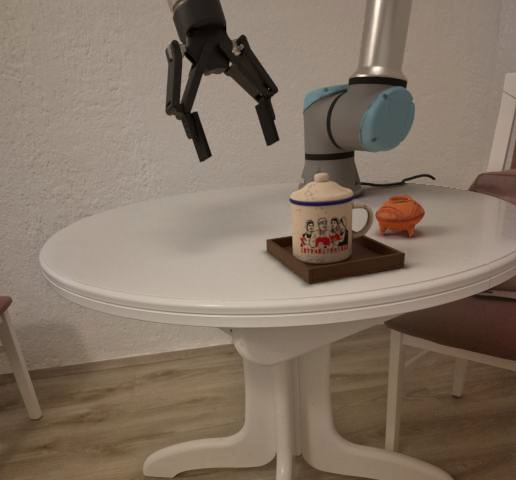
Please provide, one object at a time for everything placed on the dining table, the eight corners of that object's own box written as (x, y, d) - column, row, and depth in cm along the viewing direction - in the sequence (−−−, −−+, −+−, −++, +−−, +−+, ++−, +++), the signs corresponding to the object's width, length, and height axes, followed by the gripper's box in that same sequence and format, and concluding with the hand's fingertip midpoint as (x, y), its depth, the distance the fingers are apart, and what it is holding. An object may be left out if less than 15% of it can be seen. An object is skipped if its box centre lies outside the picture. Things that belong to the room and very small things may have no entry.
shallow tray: (346, 239, 81) (346, 227, 80) (404, 267, 66) (405, 253, 65) (266, 251, 77) (266, 239, 76) (308, 284, 63) (308, 269, 62)
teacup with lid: (295, 267, 67) (292, 181, 62) (288, 250, 76) (285, 172, 70) (380, 260, 68) (384, 174, 62) (363, 244, 76) (366, 165, 70)
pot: (436, 231, 80) (434, 192, 76) (400, 250, 78) (396, 211, 74) (402, 221, 86) (398, 185, 83) (368, 239, 84) (363, 202, 81)
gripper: (246, 16, 81) (285, 144, 86) (110, 24, 68) (164, 173, 73) (272, -10, 75) (312, 129, 80) (127, -7, 62) (185, 158, 67)
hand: (241, 151), depth 77 cm, fingers open, 13 cm apart
